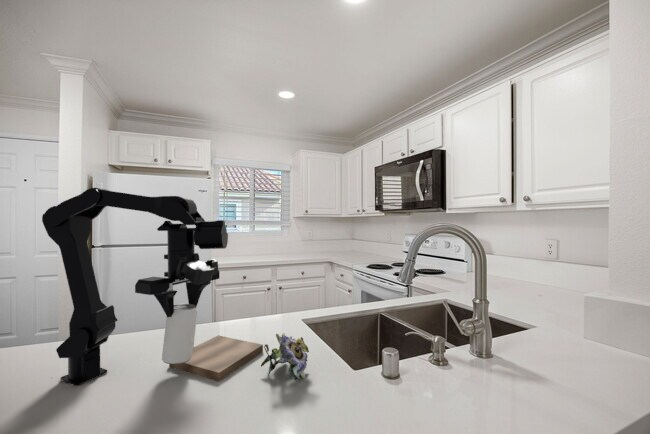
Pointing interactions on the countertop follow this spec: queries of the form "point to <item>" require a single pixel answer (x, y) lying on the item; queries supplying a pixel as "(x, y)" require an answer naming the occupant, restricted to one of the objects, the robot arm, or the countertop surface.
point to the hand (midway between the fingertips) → (182, 315)
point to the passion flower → (289, 355)
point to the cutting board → (219, 357)
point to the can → (179, 334)
